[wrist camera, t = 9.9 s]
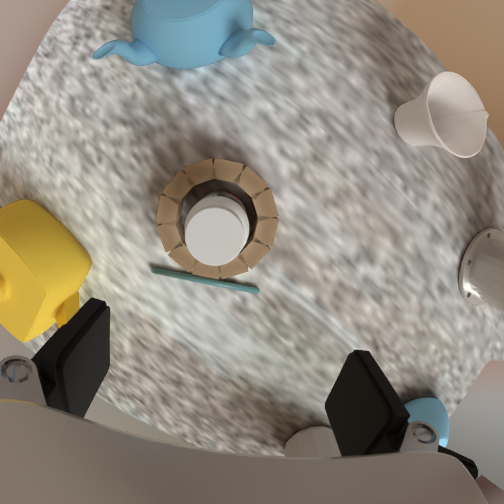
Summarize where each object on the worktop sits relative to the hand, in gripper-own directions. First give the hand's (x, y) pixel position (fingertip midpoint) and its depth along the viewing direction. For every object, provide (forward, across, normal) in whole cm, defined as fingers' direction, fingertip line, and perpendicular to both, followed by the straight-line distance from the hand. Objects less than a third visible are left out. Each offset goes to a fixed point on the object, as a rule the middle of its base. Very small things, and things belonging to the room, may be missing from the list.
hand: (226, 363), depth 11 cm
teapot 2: (+24, +9, -22) cm, 33 cm away
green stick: (+23, +2, +6) cm, 24 cm away
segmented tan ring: (+23, +2, -1) cm, 24 cm away
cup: (+24, -18, -18) cm, 35 cm away
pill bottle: (+24, +2, -1) cm, 24 cm away
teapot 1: (+24, +23, +9) cm, 34 cm away
